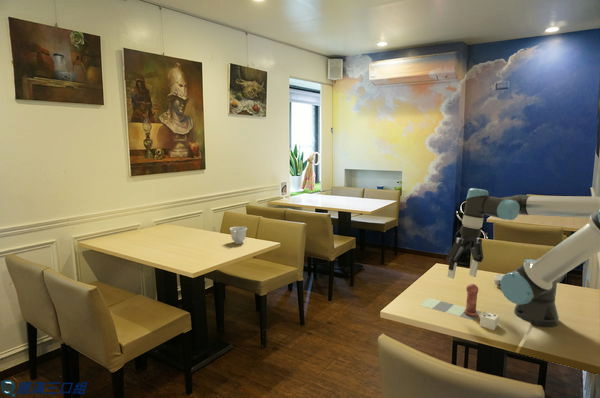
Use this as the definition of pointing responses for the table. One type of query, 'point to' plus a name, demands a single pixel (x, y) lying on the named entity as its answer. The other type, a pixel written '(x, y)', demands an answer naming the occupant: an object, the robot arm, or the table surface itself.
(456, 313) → the game board
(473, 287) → the brown tall rounded piece
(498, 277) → the robot toy
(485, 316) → the die
